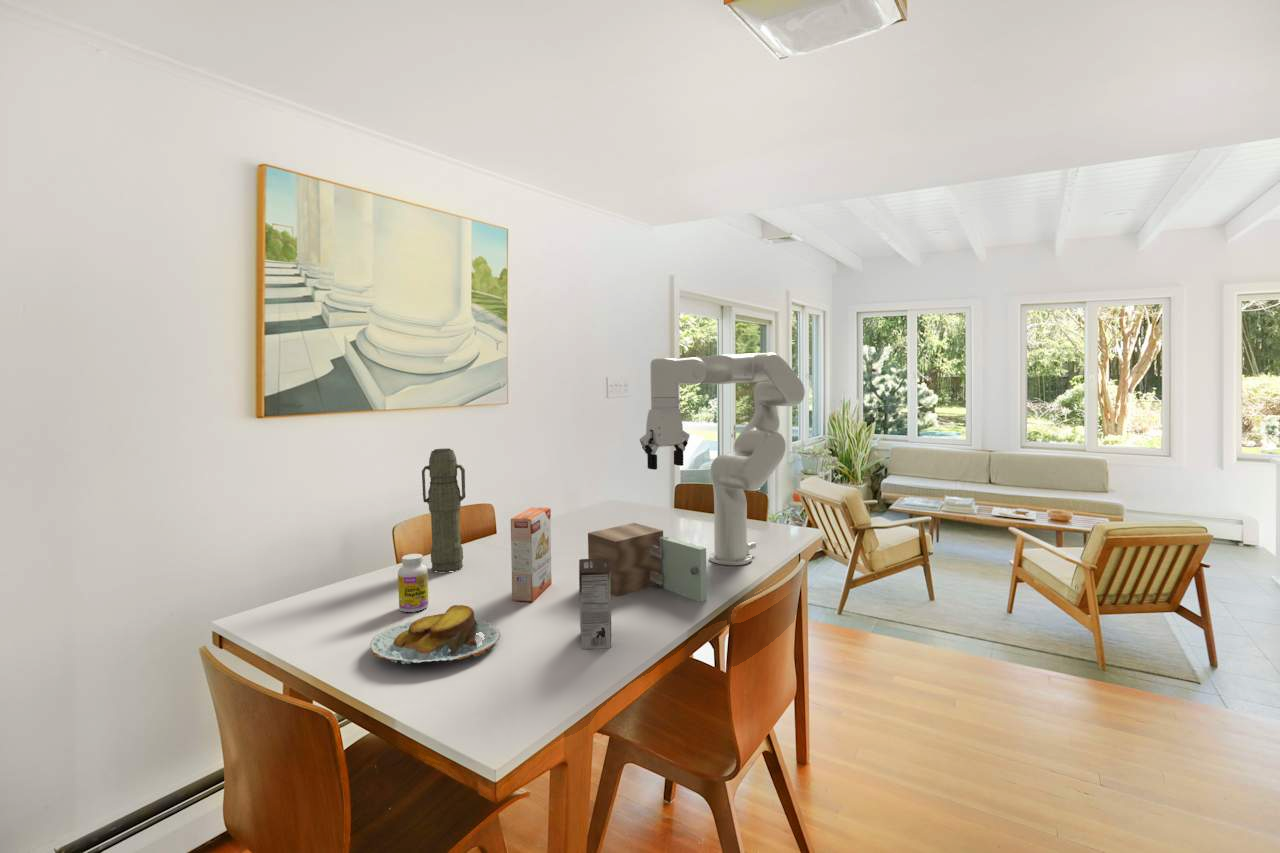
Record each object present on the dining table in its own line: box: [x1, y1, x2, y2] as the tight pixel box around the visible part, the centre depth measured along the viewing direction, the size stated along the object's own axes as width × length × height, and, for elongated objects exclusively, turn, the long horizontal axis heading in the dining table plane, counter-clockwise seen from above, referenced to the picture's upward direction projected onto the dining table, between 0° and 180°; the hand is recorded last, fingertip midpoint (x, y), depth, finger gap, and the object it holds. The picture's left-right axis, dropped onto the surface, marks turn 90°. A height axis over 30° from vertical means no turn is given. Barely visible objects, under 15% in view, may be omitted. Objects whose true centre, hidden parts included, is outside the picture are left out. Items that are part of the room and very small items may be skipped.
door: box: [659, 536, 708, 603], centre depth 154 cm, size 3×15×13 cm, turn 41°
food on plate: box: [369, 604, 501, 665], centre depth 126 cm, size 25×25×7 cm
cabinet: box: [587, 522, 664, 597], centre depth 161 cm, size 16×16×14 cm
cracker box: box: [510, 507, 552, 603], centre depth 157 cm, size 14×6×21 cm, turn 168°
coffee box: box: [578, 558, 612, 650], centre depth 128 cm, size 9×6×16 cm
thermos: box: [421, 448, 466, 573], centre depth 178 cm, size 9×12×35 cm
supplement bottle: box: [397, 553, 429, 613], centre depth 147 cm, size 7×7×13 cm
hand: (665, 467), depth 166 cm, fingers open, 9 cm apart
